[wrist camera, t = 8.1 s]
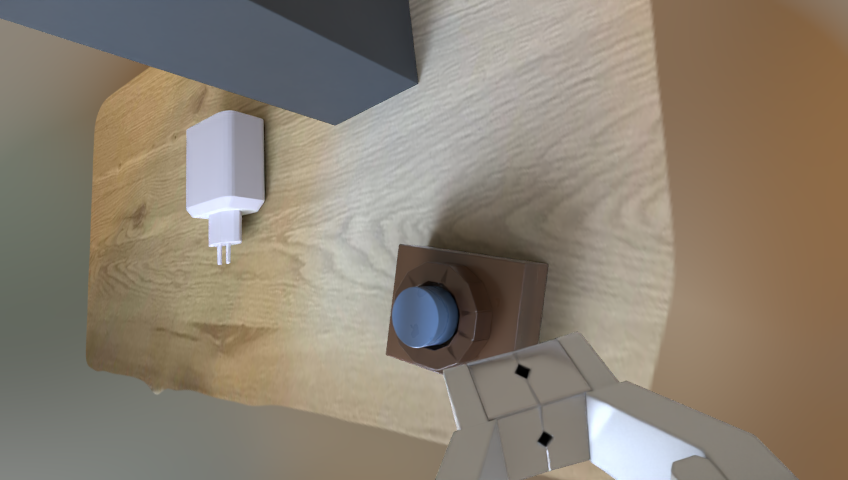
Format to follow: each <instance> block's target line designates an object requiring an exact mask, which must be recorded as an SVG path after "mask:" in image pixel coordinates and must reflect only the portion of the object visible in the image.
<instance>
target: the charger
mask: <svg viewBox="0 0 848 480" xmlns="http://www.w3.org/2000/svg"><path fill="white" fill-rule="evenodd" d="M264 201H265V187H264V120H263V119H261V118H258V117H254V116H251V115H247V114H244V113H240V112H237V111H233V110H227V111H222V112H219V113H217V114H215V115H213V116H211V117H209V118H207V119H205V120H203V121H202V122H200V123H198V124H196V125H194V126H192V127H190V128H189V129H187V156H186V210H187V211H188V212H189V214H190V215H191V216H192V217H193V218H203V219H209V246H210V247H217V264H218V265H221V264H222V246H226V263H227V264H229V263H231V245H235V244H240V243H241V242H242V216H243V215H247V214H250V213H254V212H257V211H258V210H259V209H260V207H261V206H262V204H263V203H264Z"/></svg>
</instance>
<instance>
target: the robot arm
mask: <svg viewBox="0 0 848 480" xmlns="http://www.w3.org/2000/svg"><path fill="white" fill-rule="evenodd" d="M443 375H444V379H445V383H446V387H447V391H448V395H449V399H450V403H451V407H452V411H453V415H454V419H455V423H456V427H457V431H455V432H453V435H452V437H451V440H450V442H449V445H448V448H447V450H446V453H445V455H444V458H443V460H442V463H441V466H440V468H439V471H438V473H437V476H436V478H435V480H524V479H527V478H530V477H533V476H536V475H539V474H542V473H545V472H548V471H551V470H555V469H558V468H562V467H566V466H569V465H573V464H577V463H580V462H584V461H588V460H591V462H592V463H593V464H595V465H596V466H597V467H599V468H600V469H602V470H603V471H604V472H606V473H607V474H609V475H610V476H612V477H613V478H614V479H616V480H799V479H798V478H797V477H796V476H795V475H794V474H793V473H792V472H791V471H790V470H789V469H788V468H787V467H785V465H784V464H783V463H782V462H781V461H780V460H779V459H778V458H777V457H776V456H775V455H774V454H773V453H772V452H771V451H770V450H769V449H768V448H767V447H766V446H765V445H764V444H763V443H762V442H761V441H760V440H759V439H758V438H757V437H756V436H755V435H753V434H751V433H749V432H746V431H744V430H742V429H739V428H737V427H734V426H732V425H730V424H727V423H725V422H723V421H720V420H718V419H716V418H713V417H711V416H709V415H706V414H704V413H702V412H699V411H697V410H694V409H692V408H690V407H687V406H685V405H683V404H680V403H678V402H676V401H673V400H671V399H669V398H666V397H664V396H661V395H659V394H657V393H654V392H652V391H650V390H647V389H645V388H643V387H640V386H638V385H636V384H633V383H631V382H629V381H624V382H619V381H618V380H617V378H616V377H615V376H614V375H613V373H612V372H611V371H610V370H609V368H608V367H607V366H606V364H605V363H604V362H603V361H602V359H601V358H600V357H599V356H598V354H597V353H596V352H595V350H594V349H593V348H592V347H591V345H590V344H589V343H588V341H587V340H586V339H585V338H584V336H583V335H582V334H581V333H579V332H574V333H570V334H567V335H564V336H561V337H557V338H555V339H552V340H548V341H545V342H542V343H538V344H535V345H531V346H528V347H525V348H521V349H518V350H514V351H511V352H508V353H504V354H500V355H496V356H492V357H489V358H485V359H481V360H477V361H473V362H469V363H466V365H465V364H464V365H460V366H456V367H452V368H448V369H444V370H443Z"/></svg>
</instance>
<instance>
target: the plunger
mask: <svg viewBox="0 0 848 480" xmlns="http://www.w3.org/2000/svg"><path fill="white" fill-rule="evenodd" d="M458 318H459V317H458V308H457V305H456V302H455V300H454V298H453V297H452V295H451V294H450V293H449V292H448V291H446V290H445V289H443V288H441V287H438V286H421V287H409V288H407V289H405V290H403V291H402V292H401V293H400V294H399V295H398V297H397V298H396V300H395V303H394V306H393V311H392V321H393V326H394V329H395V332H396V334H397V336H398V337H399V338H400V340H401V341H402V342H403V343H405V344H406V345H408V346H410V347H413V348H421V347H427V346H432V345H438V344H442V343H445V342H446V341H448V340H449V339H450V338H451V337H452V336H453V334H454V333H455V331H456V328H457V325H458Z"/></svg>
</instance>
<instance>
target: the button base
mask: <svg viewBox="0 0 848 480" xmlns="http://www.w3.org/2000/svg"><path fill="white" fill-rule="evenodd" d="M547 271H548V264H544V263H538V262H531V261H524V260H517V259H510V258H503V257H496V256H489V255H483V254H476V253H469V252H462V251H455V250H448V249H441V248H434V247H428V246H416V245H404V244H400V245H399V249H398V257H397V266H396V274H395V283H394V291H393V299H392V308H391V316H390V324H389V333H388V341H387V349H386V355H388V356H390V357H393V358H396V359H399V360H402V361H405V362H408V363H410V364H413V365H416V366H419V367H422V368H425V369H428V370H430V371H433V372H436V373H439V374H442V375H443V370H444V369H448V368H452V367H456V366H460V365H464V364H465V365H466V363H469V362H473V361H477V360H481V359H485V358H489V357H492V356H496V355H500V354H504V353H508V352H511V351H514V350H518V349H521V348H525V347H528V346H531V345H535V344H538V342H539V335H540V327H541V319H542V311H543V303H544V295H545V287H546V279H547ZM421 286H438V287H441V288H443V289H445V290H446V291H448V292H449V293H450V294H451V295H452V297H453V298H454V300H455V302H456V305H457V308H458V317H459V318H458V325H457V328H456V331H455V333H454V334H453V336H452V337H451V338H450V339H449V340H448V341H446V342H445V343H442V344H438V345H432V346H427V347H421V348H413V347H410V346H408V345H406V344H405V343H403V342H402V341H401V340H400V338H399V337H398V336H397V334H396V332H395V329H394V326H393V321H392V311H393V306H394V303H395V300H396V298H397V297H398V295H399V294H400V293H401V292H402V291H403V290H405V289H407V288H409V287H421Z"/></svg>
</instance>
